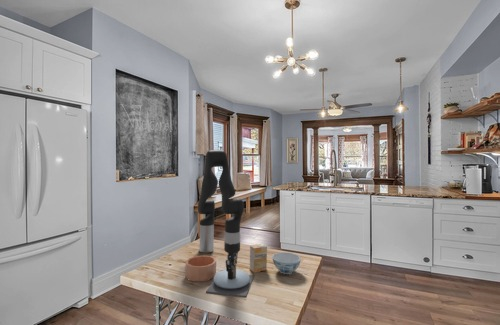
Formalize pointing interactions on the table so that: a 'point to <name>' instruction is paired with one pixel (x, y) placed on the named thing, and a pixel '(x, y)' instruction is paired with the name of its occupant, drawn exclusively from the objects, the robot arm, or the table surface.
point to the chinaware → (286, 262)
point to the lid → (238, 279)
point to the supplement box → (258, 258)
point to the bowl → (200, 268)
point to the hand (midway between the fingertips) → (231, 276)
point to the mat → (232, 292)
